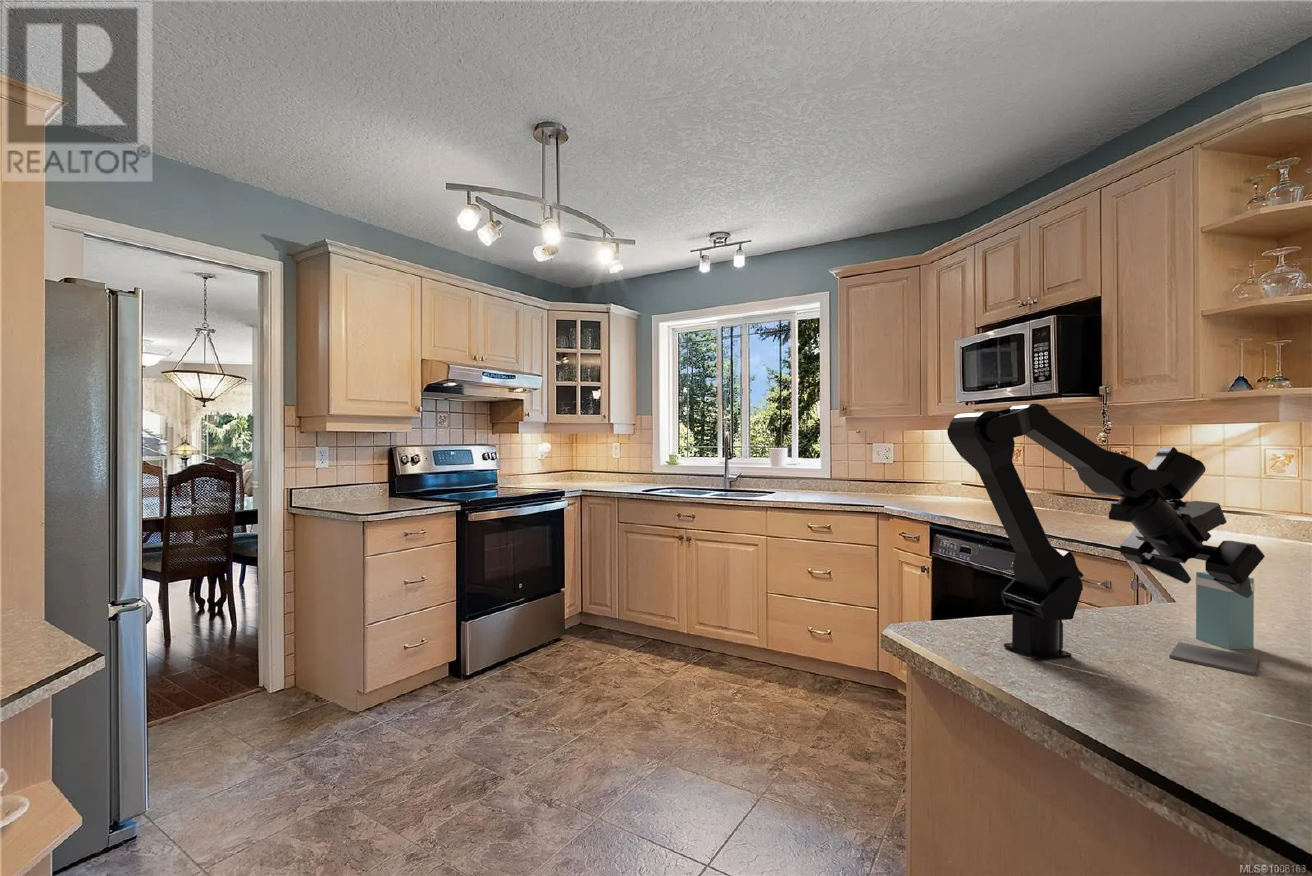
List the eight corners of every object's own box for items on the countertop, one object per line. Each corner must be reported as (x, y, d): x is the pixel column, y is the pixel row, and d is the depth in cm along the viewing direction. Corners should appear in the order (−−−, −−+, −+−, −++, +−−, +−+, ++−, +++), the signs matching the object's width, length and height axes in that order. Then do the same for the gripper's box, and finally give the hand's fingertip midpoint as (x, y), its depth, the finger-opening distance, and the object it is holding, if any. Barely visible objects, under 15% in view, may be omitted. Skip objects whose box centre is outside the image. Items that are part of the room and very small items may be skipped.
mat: (1254, 675, 83) (1254, 672, 83) (1169, 657, 89) (1169, 655, 89) (1258, 660, 89) (1258, 657, 89) (1178, 644, 96) (1178, 642, 96)
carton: (1228, 649, 94) (1229, 573, 94) (1195, 638, 99) (1195, 567, 99) (1254, 648, 94) (1254, 573, 94) (1219, 637, 99) (1220, 566, 99)
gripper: (1253, 489, 86) (1318, 563, 88) (1134, 480, 105) (1189, 542, 106) (1205, 545, 85) (1272, 619, 87) (1093, 526, 104) (1150, 588, 105)
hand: (1217, 588), depth 96 cm, fingers open, 9 cm apart
